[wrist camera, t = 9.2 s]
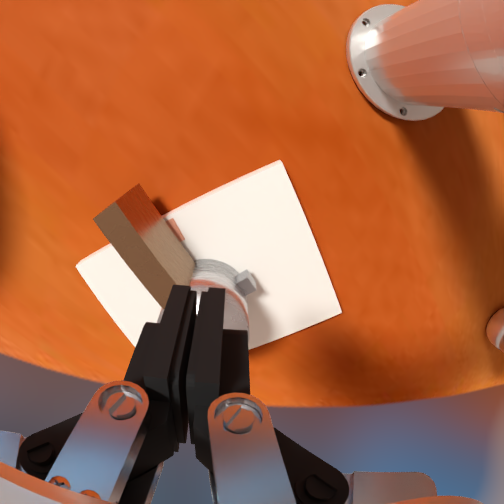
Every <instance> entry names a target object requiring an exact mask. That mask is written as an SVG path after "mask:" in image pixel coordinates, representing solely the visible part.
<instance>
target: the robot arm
mask: <svg viewBox="0 0 504 504" xmlns="http://www.w3.org/2000/svg"><path fill="white" fill-rule="evenodd" d="M362 22H363V23H364V24H365V25H364V24H363V23H362ZM346 56H347V61H348V66H349V69H350V72H351V74H352V77H353V79H354V81H355V83H356V84H357V86H358V88H359V90H360V91H361V92H362V93H363V95H364V96H365V97H366V98H367V100H369V101H370V102H371V103H372V104H373V105H374V106H375V107H376V108H378V109H379V110H381V111H383V112H384V113H386V114H388V115H390V116H392V117H395V118H398V119H403V120H412V121H418V120H425V119H428V118H431V117H433V116H435V115H436V114H438V113H439V112H441V110H442V109H443V108H444V107H451V108H464V109H474V110H484V111H492V112H500V113H504V0H419V1H417V2H415V3H413V4H411V5H409V6H407V7H405V6H401V5H395V4H384V5H379V6H375V7H372V8H371V9H369V10H367V11H365V12H364V13H363V14H361V15H360V16H359V17H358V18H357V19H356V21H355V22H354V23H353V24H352V26H351V29H350V31H349V33H348V38H347V43H346ZM358 71H359V72H361V76H359V74H358ZM400 110H401V113H400ZM225 290H226V288H212V287H209V288H208V292H206V291H202V292H201V297H200V302H199V307H198V313H197V291H193V290H191V287H190V286H187V285H175V284H174V285H173V286H172V289H171V292H170V295H169V297H168V300H167V303H166V306H165V309H164V312H163V315H162V318H161V321H160V323H153V322H146V323H145V324H144V326H143V329H142V332H141V334H140V337H139V339H138V342H137V345H136V347H135V350H134V353H133V356H132V358H131V361H130V364H129V367H128V369H127V372H126V375H125V378H124V381H113V382H110V383H107V384H105V385H103V386H102V387H100V388H99V389H98V390H97V392H96V393H95V394H94V396H93V397H92V399H91V401H90V402H89V404H88V405H87V407H86V409H85V410H84V412H83V413H81V414H79V415H77V416H74V417H72V418H70V419H67V420H65V421H63V422H61V423H59V424H56V425H54V426H52V427H49V428H46V429H44V430H42V431H39V432H37V433H34V434H32V435H31V436H29V437H27V438H25V437H23V436H22V434H19V433H12V432H7V431H1V430H0V504H151V501H152V498H153V495H154V492H155V489H156V486H157V483H158V480H159V477H160V474H161V472H162V469H163V464H164V461H165V460H166V459H168V458H170V457H171V456H173V454H174V451H175V452H178V449H179V443H186V439H187V430H188V422H189V428H190V438H191V444H195V450H196V458H197V459H198V460H199V461H200V462H201V463H202V464H203V465H204V466H205V467H206V468H208V469H209V478H210V485H211V492H212V499H213V504H483V503H481V502H479V501H477V500H474V499H471V498H466V497H460V496H437V492H436V487H435V483H434V481H433V480H432V479H431V478H430V477H429V476H427V475H426V474H424V473H419V472H390V473H389V472H357V471H354V472H353V473H352V474H342V473H341V472H340V471H338V470H337V469H336V468H334V467H333V466H331V465H329V464H328V463H326V462H324V461H323V460H321V459H320V458H318V457H317V456H315V455H314V454H312V453H311V452H309V451H307V450H306V449H304V448H303V447H301V446H300V445H299V444H297V443H295V442H294V441H292V440H291V439H290V438H288V437H287V436H285V435H284V434H283V433H281V432H280V431H278V430H277V429H276V428H274V427H273V425H272V421H271V418H270V414H269V411H268V410H267V407H266V406H265V405H264V404H263V403H262V402H261V401H260V400H259V399H257V398H256V397H254V396H252V395H250V379H249V353H248V331H247V330H234V329H223V324H224V307H225Z"/></svg>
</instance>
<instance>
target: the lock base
mask: <svg viewBox="0 0 504 504" xmlns="http://www.w3.org/2000/svg"><path fill="white" fill-rule="evenodd" d="M162 218H163V219H164V220H165V222H166V223H167V225H168V226H169V227H170V229H171V230H172V232H173V233H174V234H175V236H176V237H177V239H178V240H179V241H180V243H181V244H182V246H183V247H184V248H185V250H186V251H187V252H188V254H189V255H190V257H191V258H192V259H193V261H194V260H199V259H213V260H218V261H221V262H224V263H226V264H228V265H230V266H231V267H233V268H234V269H235V270H236V271H237V272H238V273H241V272H243V271H245V270H246V269H247V270H248V271H249V273H250V274H251V276H252V277H253V279H254V280H255V282H256V291H254V292H252V293H250V294H248V295H247V301H248V318H249V342H248V350H250V349H252V348H255V347H258V346H261V345H263V344H266V343H269V342H271V341H274V340H277V339H279V338H282V337H284V336H287V335H289V334H292V333H295V332H297V331H300V330H302V329H305V328H307V327H309V326H312V325H314V324H317V323H319V322H322V321H324V320H326V319H329V318H331V317H333V316H336V315H338V314H340V313H342V311H341V308H340V305H339V302H338V300H337V297H336V294H335V291H334V289H333V286H332V283H331V281H330V278H329V275H328V273H327V270H326V268H325V265H324V262H323V260H322V257H321V255H320V252H319V249H318V247H317V244H316V242H315V239H314V237H313V234H312V232H311V229H310V227H309V224H308V222H307V220H306V217H305V215H304V212H303V210H302V207H301V205H300V203H299V200H298V198H297V196H296V193H295V191H294V189H293V186H292V184H291V182H290V179H289V177H288V175H287V172H286V170H285V168H284V166H283V163H282V162H281V160H278V161H276V162H273V163H271V164H269V165H266V166H264V167H262V168H260V169H257V170H255V171H253V172H251V173H249V174H246V175H244V176H242V177H240V178H238V179H236V180H233V181H231V182H229V183H227V184H225V185H223V186H221V187H219V188H216V189H214V190H212V191H210V192H208V193H206V194H204V195H202V196H200V197H198V198H196V199H194V200H192V201H190V202H188V203H186V204H184V205H182V206H180V207H178V208H176V209H174V210H172V211H170V212H168V213H166V214H164V215H162ZM76 268H77V269H78V271H79V272H80V274H81V275H82V277H83V278H84V280H85V281H86V283H87V284H88V285H89V287H90V288H91V290H92V291H93V293H94V294H95V295H96V297H97V298H98V300H99V301H100V302H101V304H102V305H103V306H104V308H105V309H106V311H107V312H108V313H109V315H110V316H111V317H112V319H113V320H114V321H115V322H116V324H117V325H118V326H119V328H120V329H121V330H122V331H123V333H124V334H125V335H126V336H127V338H128V339H129V340H130V341H131V343H132V344H133V345H134V346H135V347H136V345H137V342H138V339H139V337H140V334H141V332H142V329H143V326H144V324H145V323H146V322H153V323H157V320H158V317H159V314H160V311H161V308H162V307H161V306H160V305H159V304H158V302H157V301H156V300H155V299H154V298H153V296H152V295H151V294H150V293H149V292H148V290H147V289H146V288H145V287H144V286H143V284H142V283H141V282H140V281H139V279H138V278H137V277H136V276H135V274H134V273H133V272H132V271H131V269H130V268H129V267H128V265H127V264H126V263H125V262H124V260H123V259H122V258H121V256H120V255H119V254H118V252H117V251H116V250H115V248H114V247H113V246H112V244H111V243H110V244H108V245H107V246H105V247H103V248H101V249H100V250H98V251H96V252H94V253H93V254H91V255H89V256H87V257H86V258H84V259H82V260H81V261H80V262H79V263H78V264H77V265H76Z"/></svg>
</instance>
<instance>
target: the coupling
mask: <svg viewBox="0 0 504 504" xmlns="http://www.w3.org/2000/svg"><path fill="white" fill-rule="evenodd" d="M93 220H94V221H95V223H96V224H97V225H98V227H99V228H100V229H101V231H102V232H103V234H104V235H105V236H106V238H107V239H108V240H109V242H110V243H111V244H112V246H113V247H114V248H115V250H116V251H117V252H118V254H119V255H120V256H121V258H122V259H123V260H124V262H125V263H126V264H127V265H128V267H129V268H130V269H131V271H132V272H133V273H134V274H135V276H136V277H137V278H138V279H139V281H140V282H141V283H142V284H143V286H144V287H145V288H146V289H147V290H148V292H149V293H150V294H151V295H152V296H153V298H154V299H155V300H156V301H157V302H158V304H159V305H160V306H161V307H162V308H161V311H160V314H159V317H158V320H157V323H160V321H161V318H162V315H163V312H164V309H165V306H166V303H167V300H168V297H169V295H170V292H171V289H172V286H173V285H174V284H175V285H187V286H190V287H191V290H193V291H197V313H198V307H199V302H200V297H201V292H202V291H206V292H208V288H209V287H212V288H226V290H225V307H224V324H223V329H234V330H247V331H248V342H249V318H248V301H247V295H248V294H250V293H252V292H254V291H256V282H255V280H254V279H253V277H252V276H251V274H250V273H249V271H248V270H247V269H246V270H245V271H243V272H241V273H238V272H237V271H236V270H235V269H234V268H233V267H231V266H230V265H228V264H226V263H224V262H221V261H218V260H213V259H199V260H194V261H193V259H192V258H191V257H190V255H189V254H188V252H187V251H186V250H185V248H184V247H183V246H182V244H181V243H180V241H179V240H178V239H177V237H176V236H175V234H174V233H173V232H172V230H171V229H170V227H169V226H168V225H167V223H166V222H165V220H164V219H163V218H162V216H161V215H160V213H159V212H158V210H157V209H156V208H155V206H154V205H153V203H152V202H151V200H150V199H149V197H148V196H147V195H146V193H145V192H144V190H143V189H142V187H141V186H140V184H137V185H136V186H135V187H133V188H132V189H131V190H129V191H128V192H127V193H125V194H124V195H123V196H121V197H120V198H119V199H117V200H116V201H115V202H113V203H112V204H111V205H110V206H108V207H107V208H106V209H105V210H103V211H102V212H101V213H100V214H99V215H97V216H96V217H95V218H94V219H93Z"/></svg>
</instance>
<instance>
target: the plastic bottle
mask: <svg viewBox="0 0 504 504" xmlns="http://www.w3.org/2000/svg"><path fill="white" fill-rule="evenodd" d="M486 332H487V337H488V338H489V340H490V342H491V343H492V344H493V345H494V346H495V347H497V348H498V349H500V350H501V351H502V352H503V353H504V308H502V309H500V310H498V311H497V312H496V313H495V314H494V315H493V316H492V317H491V319H490V320H489V322H488V324H487V328H486Z"/></svg>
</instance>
